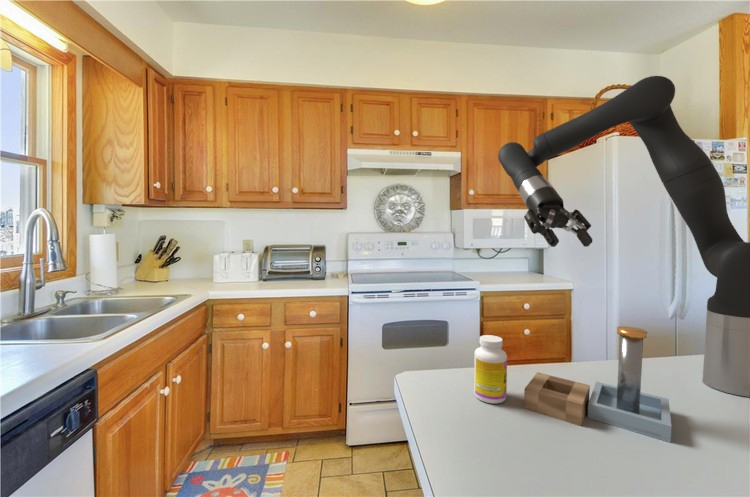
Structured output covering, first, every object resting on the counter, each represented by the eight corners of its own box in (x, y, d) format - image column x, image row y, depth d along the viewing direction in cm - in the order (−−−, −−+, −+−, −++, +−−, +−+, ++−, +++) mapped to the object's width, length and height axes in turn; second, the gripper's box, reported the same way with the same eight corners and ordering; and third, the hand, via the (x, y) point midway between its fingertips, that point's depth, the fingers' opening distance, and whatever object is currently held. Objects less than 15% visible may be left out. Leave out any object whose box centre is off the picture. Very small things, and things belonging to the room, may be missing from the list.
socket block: (536, 389, 76) (537, 372, 76) (589, 404, 70) (589, 385, 70) (524, 407, 68) (524, 388, 68) (581, 426, 62) (582, 404, 62)
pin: (614, 402, 69) (617, 324, 68) (642, 409, 66) (647, 329, 65) (612, 411, 65) (616, 330, 65) (642, 420, 63) (647, 334, 62)
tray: (595, 393, 74) (596, 381, 74) (667, 412, 67) (668, 398, 66) (587, 417, 65) (588, 403, 65) (670, 442, 57) (671, 426, 57)
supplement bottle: (508, 406, 69) (510, 344, 68) (475, 403, 70) (476, 342, 69) (503, 391, 75) (504, 334, 75) (472, 388, 77) (473, 332, 76)
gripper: (521, 184, 82) (553, 232, 72) (572, 186, 85) (610, 232, 74) (508, 208, 88) (536, 255, 77) (556, 208, 90) (589, 254, 80)
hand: (572, 244), depth 76 cm, fingers open, 8 cm apart
